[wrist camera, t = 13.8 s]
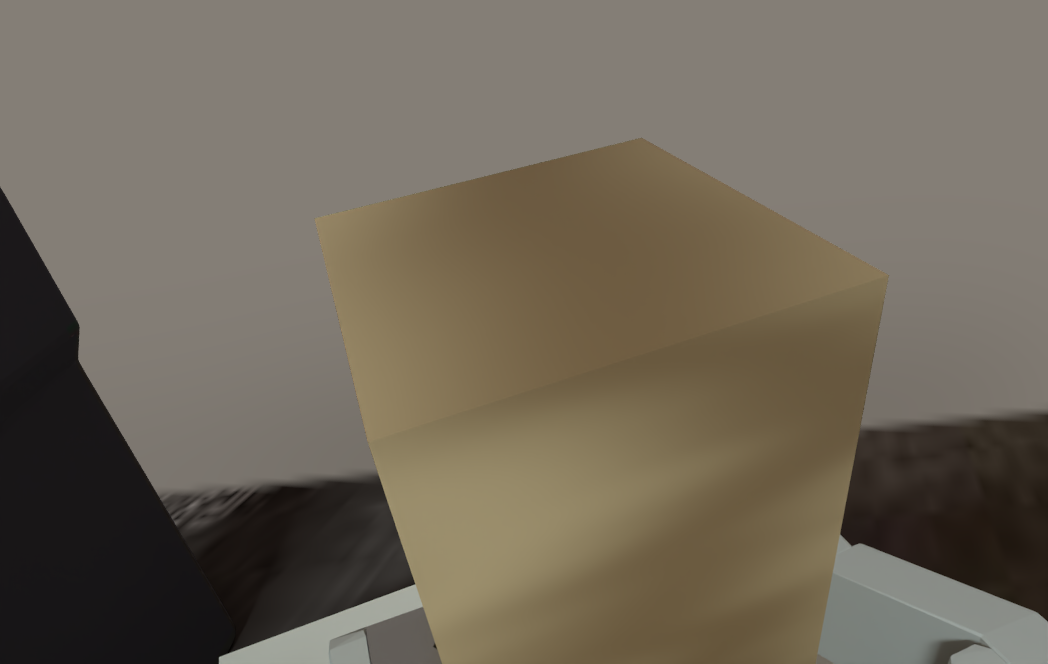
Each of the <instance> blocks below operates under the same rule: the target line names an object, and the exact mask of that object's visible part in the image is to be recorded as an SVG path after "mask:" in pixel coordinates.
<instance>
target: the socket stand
mask: <svg viewBox="0 0 1048 664" xmlns="http://www.w3.org/2000/svg"><path fill="white" fill-rule="evenodd" d="M421 607H423V605H422V602H421V599H420V596H419V593H418V590H417V587H416V584H415V585H412V586H409V587H407V588H404V589H401V590H399V591H396V592H393V593H391V594H388V595H385V596H382V597H380V598H377V599H374V600H372V601H369V602H366V603H364V604H361V605H358V606H355V607H353V608H350V609H347V610H345V611H342V612H339V613H337V614H334V615H331V616H329V617H326V618H323V619H320V620H318V621H315V622H312V623H310V624H307V625H304V626H302V627H299V628H296V629H293V630H291V631H288V632H285V633H283V634H280V635H277V636H275V637H272V638H269V639H266V640H264V641H261V642H258V643H256V644H253V645H250V646H248V647H245V648H242V649H239V650H237V651H234V652H231V653H229V654H226V655H223V656H221V657H219V664H330V662H329V642H330V640H332V639H334V638H337V637H340V636H342V635H345V634H348V633H350V632H353V631H356V630H358V629H361V628H364V627H367V626H370V625H373V624H375V623H378V622H381V621H384V620H387V619H390V618H392V617H395V616H398V615H401V614H404V613H407V612H409V611H412V610H415V609H418V608H421ZM816 664H834V663H832V662H831V661H829V660H827V659H826V658H824V657H822V656H821V655H819V654H817V659H816Z"/></svg>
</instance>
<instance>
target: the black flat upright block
mask: <svg viewBox="0 0 1048 664" xmlns="http://www.w3.org/2000/svg"><path fill="white" fill-rule="evenodd" d="M78 347H79V324H78V322H77V320H76V318H75V317H74V315H73V313H72V311H71V309H70V308H69V306H68V304H67V303H66V301H65V299H64V297H63V296H62V294H61V292H60V290H59V288H58V287H57V285H56V284H55V282H54V280H53V278H52V276H51V274H50V273H49V271H48V269H47V267H46V266H45V264H44V262H43V261H42V259H41V257H40V255H39V254H38V252H37V250H36V248H35V247H34V245H33V243H32V241H31V240H30V238H29V236H28V234H27V233H26V231H25V229H24V228H23V226H22V224H21V223H20V220H19V219H18V217H17V215H16V213H15V212H14V210H13V208H12V206H11V205H10V203H9V201H8V199H7V198H6V196H5V194H4V193H3V191H2V189H1V188H0V664H219V657H221V656H223V655H226V654H227V652H228V650H229V649H230V647H231V645H232V643H233V641H234V638H235V625H234V623H233V621H232V619H231V618H230V616H229V614H228V613H227V611H226V609H225V608H224V606H223V604H222V602H221V601H220V599H219V597H218V596H217V594H216V592H215V591H214V589H213V587H212V586H211V584H210V582H209V581H208V579H207V577H206V576H205V574H204V572H203V570H202V569H201V567H200V565H199V564H198V562H197V560H196V559H195V557H194V555H193V554H192V552H191V550H190V549H189V547H188V545H187V543H186V542H185V540H184V538H183V537H182V535H181V533H180V532H179V530H178V528H177V527H176V525H175V523H174V522H173V520H172V518H171V517H170V515H169V513H168V511H167V510H166V508H165V506H164V505H163V503H162V501H161V500H160V498H159V496H158V495H157V493H156V491H155V490H154V488H153V486H152V485H151V483H150V481H149V479H148V478H147V476H146V474H145V473H144V471H143V469H142V468H141V466H140V464H139V463H138V461H137V459H136V458H135V456H134V454H133V453H132V451H131V449H130V447H129V446H128V444H127V442H126V441H125V439H124V437H123V436H122V434H121V432H120V431H119V429H118V427H117V426H116V424H115V422H114V421H113V419H112V417H111V415H110V414H109V412H108V410H107V409H106V407H105V406H104V404H103V402H102V401H101V399H100V397H99V395H98V394H97V392H96V390H95V388H94V387H93V385H92V383H91V382H90V380H89V378H88V377H87V375H86V373H85V372H84V370H83V368H82V366H81V364H80V363H79V360H78Z"/></svg>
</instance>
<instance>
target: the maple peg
mask: <svg viewBox="0 0 1048 664" xmlns="http://www.w3.org/2000/svg"><path fill="white" fill-rule="evenodd" d="M315 222H316V226H317V231H318V235H319V239H320V244H321V248H322V252H323V256H324V260H325V265H326V269H327V272H328V277H329V281H330V286H331V290H332V294H333V298H334V302H335V307H336V311H337V315H338V319H339V323H340V328H341V332H342V336H343V340H344V344H345V349H346V352H347V357H348V361H349V366H350V370H351V374H352V378H353V382H354V386H355V391H356V395H357V399H358V403H359V408H360V412H361V416H362V420H363V424H364V428H365V433H366V437H367V441H368V444H369V447H370V450H371V453H372V456H373V459H374V462H375V465H376V468H377V471H378V474H379V477H380V480H381V483H382V486H383V489H384V492H385V495H386V498H387V501H388V504H389V507H390V510H391V513H392V516H393V519H394V522H395V525H396V528H397V531H398V534H399V537H400V540H401V543H402V546H403V549H404V552H405V555H406V558H407V561H408V564H409V566H410V569H411V572H412V575H413V578H414V581H415V584H416V587H417V590H418V593H419V596H420V599H421V602H422V605H423V608H424V611H425V614H426V617H427V620H428V623H429V626H430V629H431V632H432V635H433V638H434V641H435V644H436V647H437V650H438V653H439V656H440V659H441V662H442V664H816V659H817V653H818V648H819V643H820V637H821V632H822V627H823V622H824V616H825V611H826V606H827V600H828V595H829V590H830V584H831V579H832V574H833V569H834V563H835V558H836V553H837V547H838V542H839V537H840V531H841V526H842V521H843V516H844V510H845V505H846V500H847V494H848V489H849V484H850V478H851V473H852V468H853V463H854V457H855V452H856V447H857V441H858V436H859V431H860V425H861V420H862V414H863V410H864V404H865V399H866V394H867V388H868V383H869V378H870V372H871V366H872V362H873V357H874V351H875V346H876V341H877V335H878V329H879V324H880V319H881V314H882V309H883V303H884V298H885V292H886V287H887V282H888V277H889V275H887V274H885V273H884V272H882V271H880V270H878V269H877V268H875V267H873V266H871V265H869V264H868V263H866V262H864V261H862V260H860V259H859V258H857V257H855V256H853V255H851V254H850V253H848V252H846V251H844V250H842V249H841V248H838V247H837V246H835V245H833V244H832V243H830V242H828V241H826V240H824V239H823V238H821V237H819V236H817V235H815V234H813V233H812V232H810V231H808V230H806V229H804V228H803V227H801V226H799V225H797V224H796V223H794V222H792V221H790V220H788V219H786V218H785V217H783V216H781V215H779V214H778V213H776V212H774V211H772V210H770V209H768V208H767V207H765V206H763V205H761V204H760V203H758V202H756V201H754V200H752V199H751V198H749V197H747V196H745V195H743V194H741V193H740V192H738V191H736V190H734V189H733V188H731V187H729V186H727V185H725V184H724V183H722V182H720V181H718V180H717V179H715V178H713V177H711V176H709V175H708V174H706V173H704V172H702V171H700V170H699V169H697V168H695V167H693V166H691V165H690V164H687V163H686V162H684V161H682V160H681V159H679V158H677V157H675V156H673V155H671V154H670V153H668V152H666V151H664V150H663V149H661V148H659V147H657V146H655V145H654V144H652V143H650V142H648V141H646V140H645V139H643V138H639V139H635V140H631V141H627V142H623V143H619V144H615V145H610V146H607V147H603V148H598V149H594V150H590V151H587V152H582V153H578V154H574V155H570V156H566V157H562V158H558V159H554V160H550V161H546V162H542V163H538V164H534V165H529V166H526V167H521V168H517V169H513V170H510V171H505V172H501V173H497V174H493V175H489V176H485V177H481V178H477V179H473V180H469V181H465V182H461V183H456V184H452V185H449V186H444V187H440V188H436V189H432V190H428V191H424V192H420V193H416V194H412V195H408V196H404V197H400V198H396V199H392V200H388V201H383V202H380V203H376V204H371V205H367V206H364V207H359V208H355V209H351V210H347V211H343V212H339V213H335V214H331V215H327V216H323V217H319V218H315Z"/></svg>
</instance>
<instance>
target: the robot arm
mask: <svg viewBox="0 0 1048 664" xmlns="http://www.w3.org/2000/svg"><path fill="white" fill-rule="evenodd" d="M817 654H819V655H821V656H822V657H824V658H826V659H827V660H829V661H831V662H832V663H834V664H1048V622H1047V621H1046V620H1045V619H1044V618H1043V617H1042V616H1041V615H1039V614H1038V613H1037V612H1035V611H1032V610H1030V609H1027V608H1024V607H1022V606H1019V605H1017V604H1014V603H1012V602H1009V601H1007V600H1004V599H1002V598H999V597H996V596H994V595H991V594H989V593H986V592H984V591H981V590H979V589H976V588H974V587H971V586H968V585H966V584H963V583H961V582H958V581H956V580H953V579H951V578H948V577H945V576H943V575H940V574H938V573H935V572H933V571H930V570H928V569H925V568H923V567H920V566H917V565H915V564H912V563H910V562H907V561H905V560H902V559H900V558H897V557H894V556H892V555H889V554H887V553H884V552H882V551H879V550H877V549H874V548H872V547H869V546H866V545H864V544H861V543H859V544H856V545H854V546H851V545H850V544H849V543H848V542H847V541H846V540H845V539H844V538H843V537H842V536H841V535H840V537H839V542H838V547H837V553H836V558H835V563H834V569H833V574H832V579H831V584H830V590H829V595H828V600H827V606H826V611H825V616H824V622H823V627H822V632H821V637H820V643H819V648H818V653H817ZM329 662H330V664H442V662H441V659H440V656H439V653H438V650H437V647H436V644H435V641H434V638H433V635H432V632H431V629H430V626H429V623H428V620H427V617H426V614H425V611H424V608H423V607H421V608H418V609H415V610H412V611H409V612H407V613H404V614H401V615H398V616H395V617H392V618H390V619H387V620H384V621H381V622H378V623H375V624H373V625H370V626H367V627H364V628H361V629H358V630H356V631H353V632H350V633H348V634H345V635H342V636H340V637H337V638H334V639H332V640H330V642H329Z"/></svg>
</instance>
